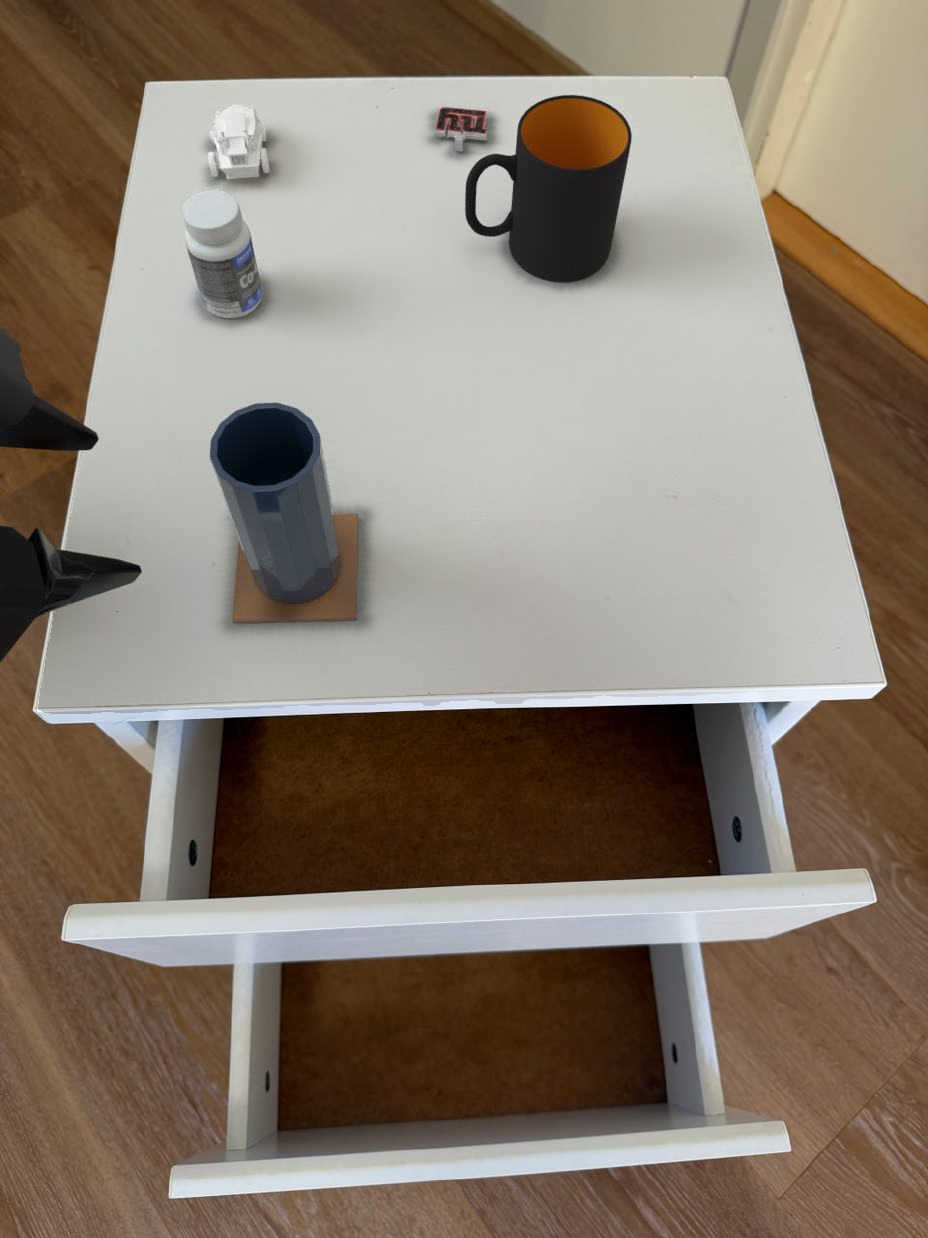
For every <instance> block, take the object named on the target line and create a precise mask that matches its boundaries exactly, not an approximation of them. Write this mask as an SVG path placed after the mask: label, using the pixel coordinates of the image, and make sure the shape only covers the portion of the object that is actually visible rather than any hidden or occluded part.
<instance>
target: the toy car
mask: <svg viewBox="0 0 928 1238" xmlns="http://www.w3.org/2000/svg"><path fill="white" fill-rule="evenodd" d="M266 131H267V130H266V127H262V121H261V118H260V116H259V114H258V113H257V110H256V108H255V107H251V108H250V107H247V106H244V105H242V104H232V105H231V106H229V107H227V108H226V109H223V110H222V111H221V110H217V111H216V112H215V116H214V121H213V129H212V130H211V129H210V131H209V136H210V137H209V138H210V141H211V143H212V145H215V148H216V150H217V157H216V154H215V152H214V151H209V152H208V153H207V158H208V166H209V170H210V174H211V177H213V178H218V176H219V169H220V170H221V171H222V172H223V173H224V174H225V176H226V180H234V179H247V178H259V177H260V165H261V167H262V171H263V174H269V173H270V164H269V163H270V162H269V155H268V151H267V148H264V147H263V142H264V143H265V142H267V132H266ZM217 158H218V161H217ZM218 167H219V168H218Z"/></svg>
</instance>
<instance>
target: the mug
mask: <svg viewBox="0 0 928 1238" xmlns="http://www.w3.org/2000/svg"><path fill="white" fill-rule="evenodd" d="M632 136H633V134H632V129H631V126H630V124H629V122H628V120H627V119H626V117H625V116H624V115H623V114H622V113H621V112H620V111H619V110H618V109H616V107H613V105H611V104H609V103H607V102H605V101H602V100H601V99H597V98H594V97H591V96H585V95H579V94H578V95H577V94H563V95H555V96H551V97H547V98H544V99H542V100H540V101H537V102H536V103H533V105H531V106H530V107H529V108H527V110H525V111H524V112H523V114H522V116H521V117H520V119H519V121H518V123H517V131H516V140H515V141H516V142H515V154H511V155H507V154H501V153H491V154H490V153H489V154H488V155H485V156H483V157H481V158H480V159H478V160H477V161H476V163H474V165H473V166H472V167H471V169H470V171H469V172H468V175H467V177H466V181H465V193H464V194H465V196H464V202H465V203H464V215H465V220H466V222H467V224H468V226H469V227H470V229H471V230H472V231H473V232H474V233H475V234H476V235H479V236H483V237H489V238H495V237H500V236H502V235H504V234H507V233H508V232H509V235H508V248H509V251H510V254H511V256H512V258H513V260H514V261H515V263H516V264H517V265H518V266H519V267H520V268H521V269H523V270H524V271H525V272H526V273H528V274H529V275H532V276H533V277H535V278H538V279H540V280H542V281H543V280H544V281H547V282H548V281H549V282H554V283H572V282H577V281H578V282H579V281H581V280H585V279H587V278H590V277H591V276H593V275H594V274H596V273H597V272H599V271H600V270H601V269H602V268H603V267H604V266H605V265H606V263H607V261H608V259H609V257H610V255H611V250H612V245H613V244H612V243H613V238H614V234H615V229H616V224H617V218H618V214H619V209H620V203H621V198H622V193H623V189H624V188H623V187H624V182H625V177H626V173H627V168H628V167H627V166H628V161H629V157H630V151H631V146H632ZM492 166H498V167H501V168H502V169H504V170H505V171H506V172H507V174H508V176H509V177H510V180H512V191H511V192H512V193H511V207H510V211H509V212H508V213H507V216H506V217H505V219H504V220H503V221H502V222H501V223H500V224H498V225H493V226H487V225H484V224H483V223H481V222H480V220H479V219H478V216H477V209H476V208H477V186H478V181H479V179H480V177H481V175H482V174H483V173H484V172H485V170H487V169H488V168H490V167H492Z"/></svg>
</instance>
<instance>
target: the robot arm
mask: <svg viewBox="0 0 928 1238" xmlns="http://www.w3.org/2000/svg"><path fill="white" fill-rule="evenodd" d="M21 353H22V348H21V343H20V341H18V339H17V338H16V337H14V336H13V335H11V334H9V333H8V332H7V331H6V330H4V329H2V328H1V327H0V448H11V449H12V448H14V449H26V450H42V451H55V452H57V451H58V452H74V451H75V452H76V451H91V450H92V449H94V448H95V446H96V444H97V443H98V441H99V440H100V438H99V435H98V433H97V432H96V431H94V430H93V429H92V428H90V427H88V426H87V425H85V424H83V423H82V422H80V421H79V420H77V419H75V418H74V417H72V416H71V415H69V414H68V413H66V412H64V411H63V410H61V409H60V408H58V407H57V406H55V405H53V404H52V403H51V402H48V401H47V400H45V399H43V398H42V397H41V396H39V395H37V394H36V393H34V387H33V385H32V383H31V382H30V380H29V379H28V378H27V374H26V371H25V367H24V365H23V361H22V357H21ZM142 573H143V570H142V567H141V565H139V564H138V563H133V562H130V561H127V560H123V559H121V558H116V557H115V558H114V557H110V556H109V557H108V556H102V555H95V554H90V553H84V552H78V551H71V550H65V549H59V548H56V547H54V546H53V544H52V543H51V542H50V541H49V539H48V538H47V536H46V535H45V533H43V531H42V530H41V529H40V528H38V527H35V528H34V529H33V531H32V532H31V534H30V535H29V536H28V537H26V536H24V535H23V534H22V533H20V532H19V531H18V530H16V529H15V528H14V527H13V526H7V525H1V524H0V663H1V662H2V661H3V660H4V659H5V658H6V657H7V655H8V654H9V652H10V651H11V650H12V649H13V647H14V646H15V645H16V644H17V642H19V640H20V638H21V637H22V636H23V635H24V633H25V632H27V630H28V628H29V627H30V626H31V625H32V624H33V622H34V621H35V620H36V619H38V618H41V617H42V616H44V615H47V614H49V613H51V612H54V611H56V610H60V609H61V608H64V607H67V606H69V605H71V604H76V603H78V602H81V601H84V600H87V599H90V598H93V597H96V596H99V595H101V594H104V593H108V592H111V591H113V590H116V589H120V588H121V587H125V586H127V585H130V584H132V583H134V582H136V581H137V579H138V578H139V577H140V576H141V574H142Z"/></svg>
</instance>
